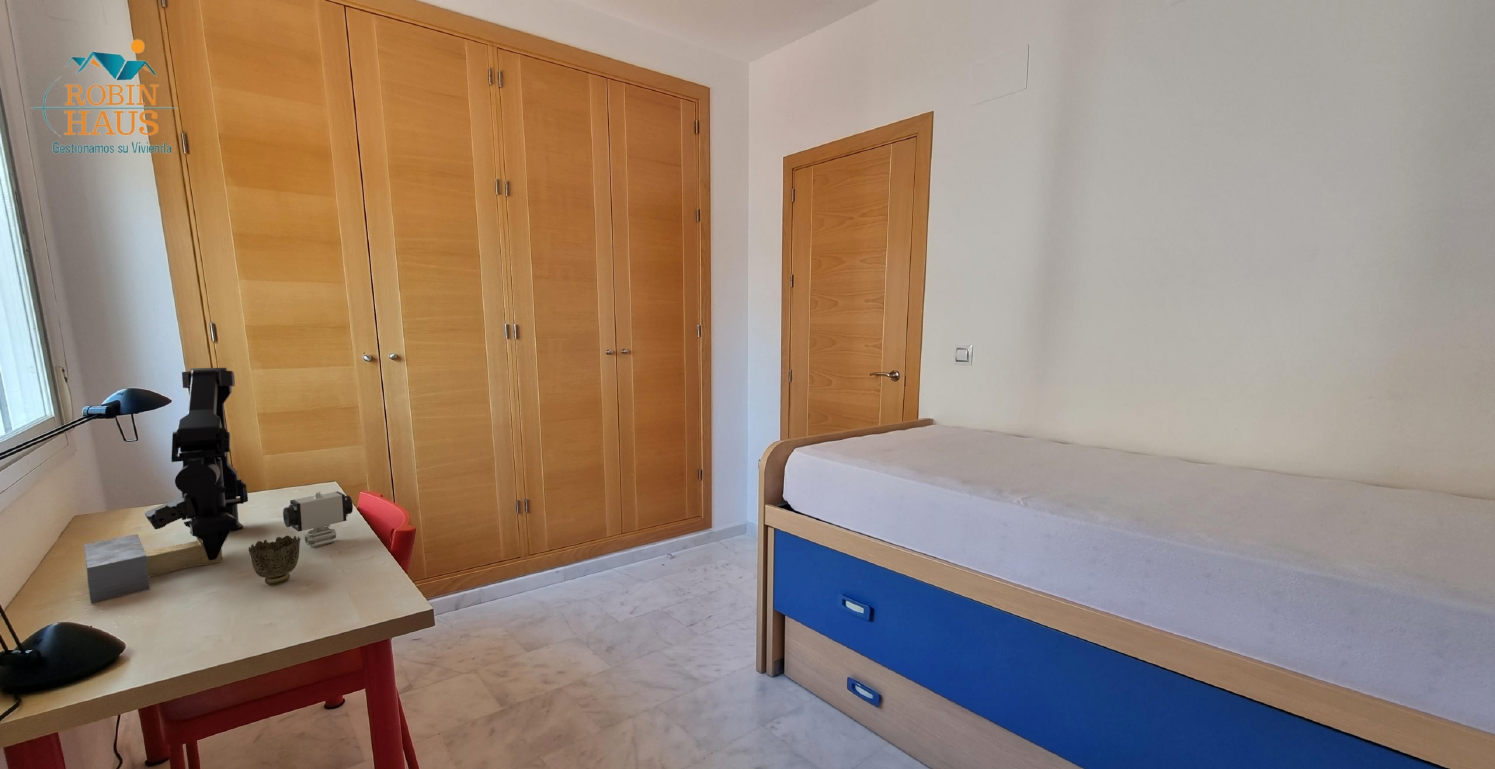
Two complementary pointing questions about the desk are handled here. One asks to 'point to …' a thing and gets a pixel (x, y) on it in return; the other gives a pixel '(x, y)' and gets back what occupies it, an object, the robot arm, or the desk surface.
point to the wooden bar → (178, 557)
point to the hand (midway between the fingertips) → (210, 556)
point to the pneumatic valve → (318, 516)
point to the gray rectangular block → (116, 568)
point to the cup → (275, 559)
